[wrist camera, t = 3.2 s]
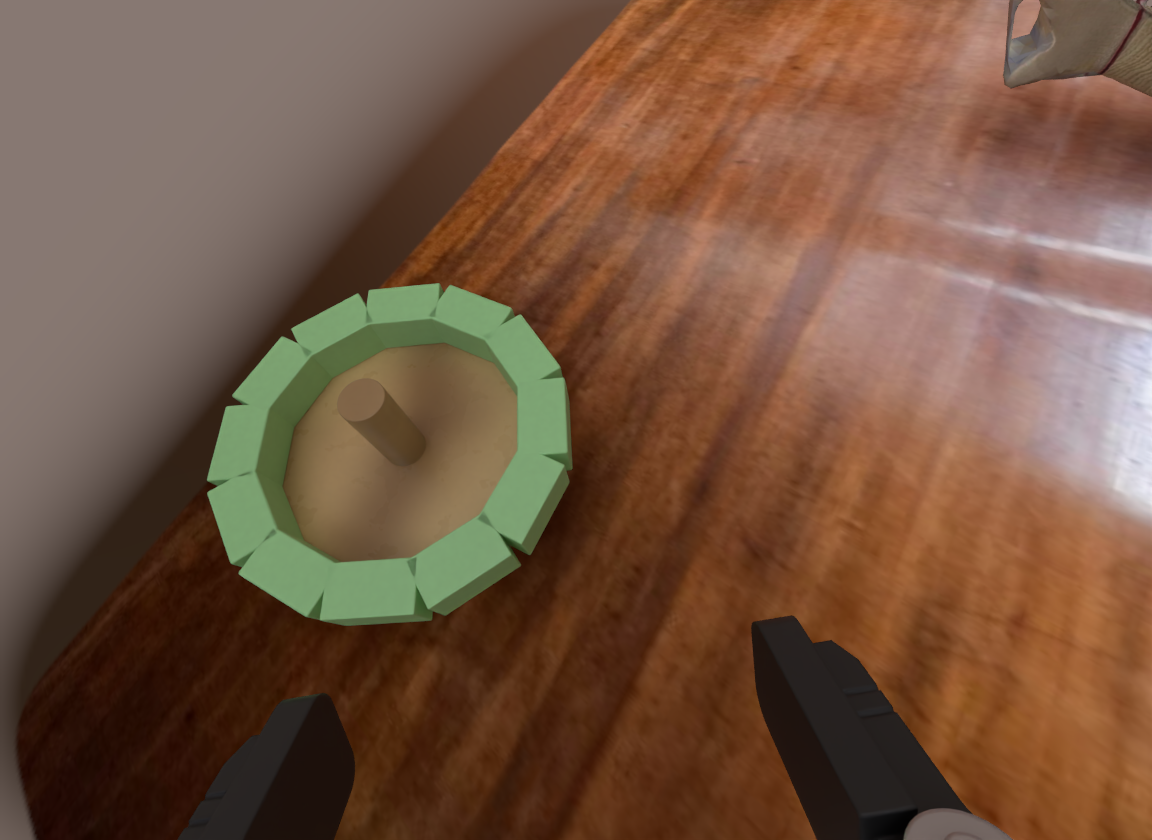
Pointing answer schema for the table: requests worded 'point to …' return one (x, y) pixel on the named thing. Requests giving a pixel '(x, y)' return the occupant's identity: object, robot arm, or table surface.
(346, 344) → the ring
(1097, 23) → the wood carving
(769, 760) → the table surface
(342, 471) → the stand
